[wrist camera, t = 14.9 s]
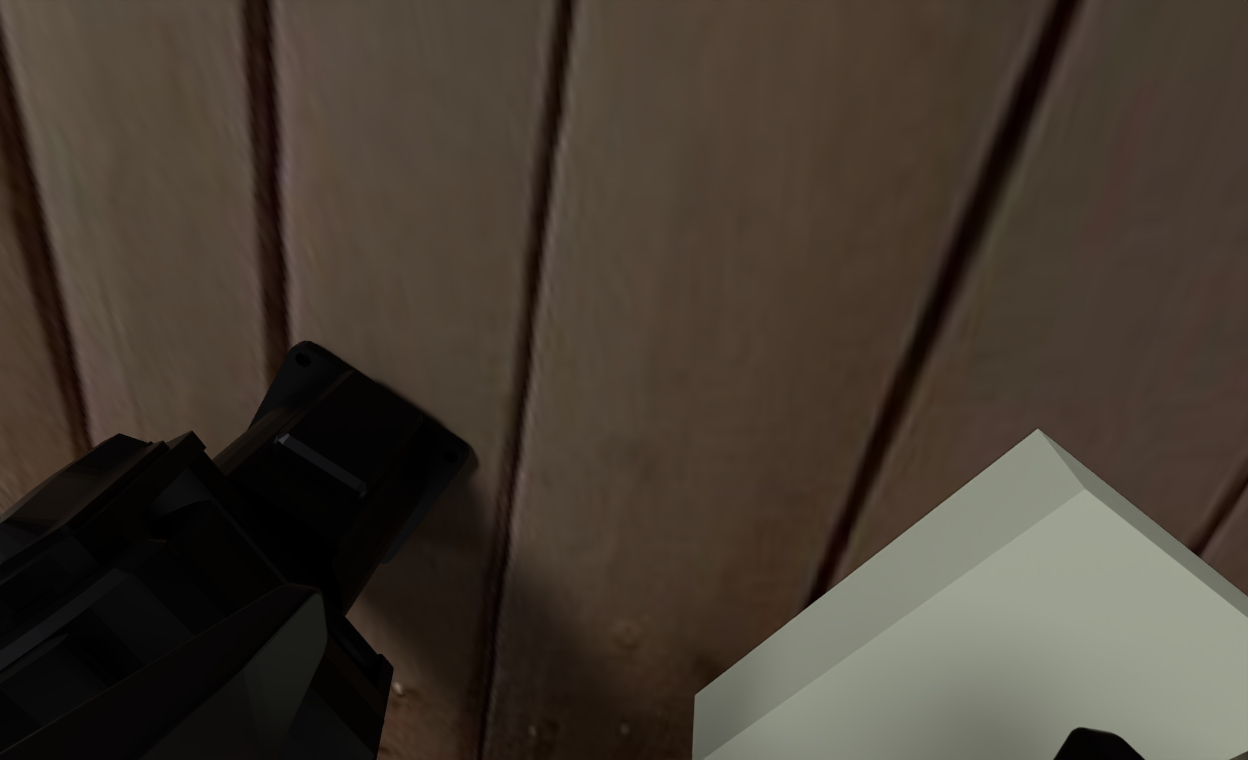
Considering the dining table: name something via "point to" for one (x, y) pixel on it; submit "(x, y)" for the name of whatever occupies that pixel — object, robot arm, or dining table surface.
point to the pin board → (1000, 637)
